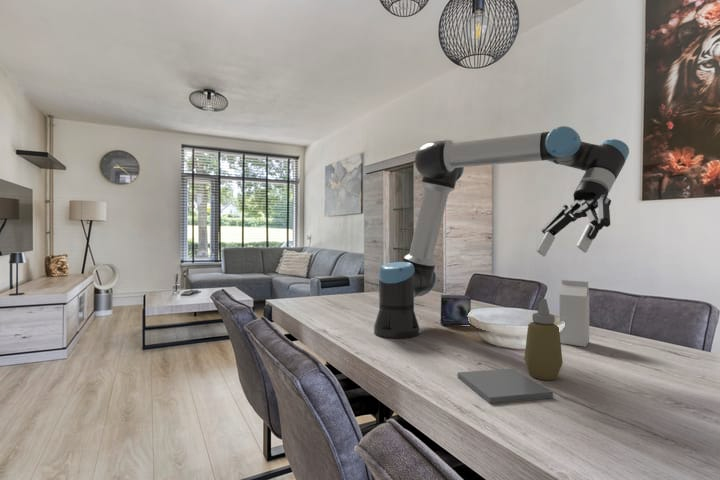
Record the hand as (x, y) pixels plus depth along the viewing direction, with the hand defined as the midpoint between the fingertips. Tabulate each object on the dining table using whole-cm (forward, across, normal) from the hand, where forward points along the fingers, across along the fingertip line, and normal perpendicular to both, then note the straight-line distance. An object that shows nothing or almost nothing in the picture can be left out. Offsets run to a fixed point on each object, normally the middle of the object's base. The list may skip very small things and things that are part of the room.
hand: (559, 251), depth 99 cm
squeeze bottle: (+30, -3, -10) cm, 32 cm away
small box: (+21, +49, -11) cm, 55 cm away
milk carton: (+10, +18, -32) cm, 37 cm away
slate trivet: (+38, -6, +1) cm, 39 cm away
